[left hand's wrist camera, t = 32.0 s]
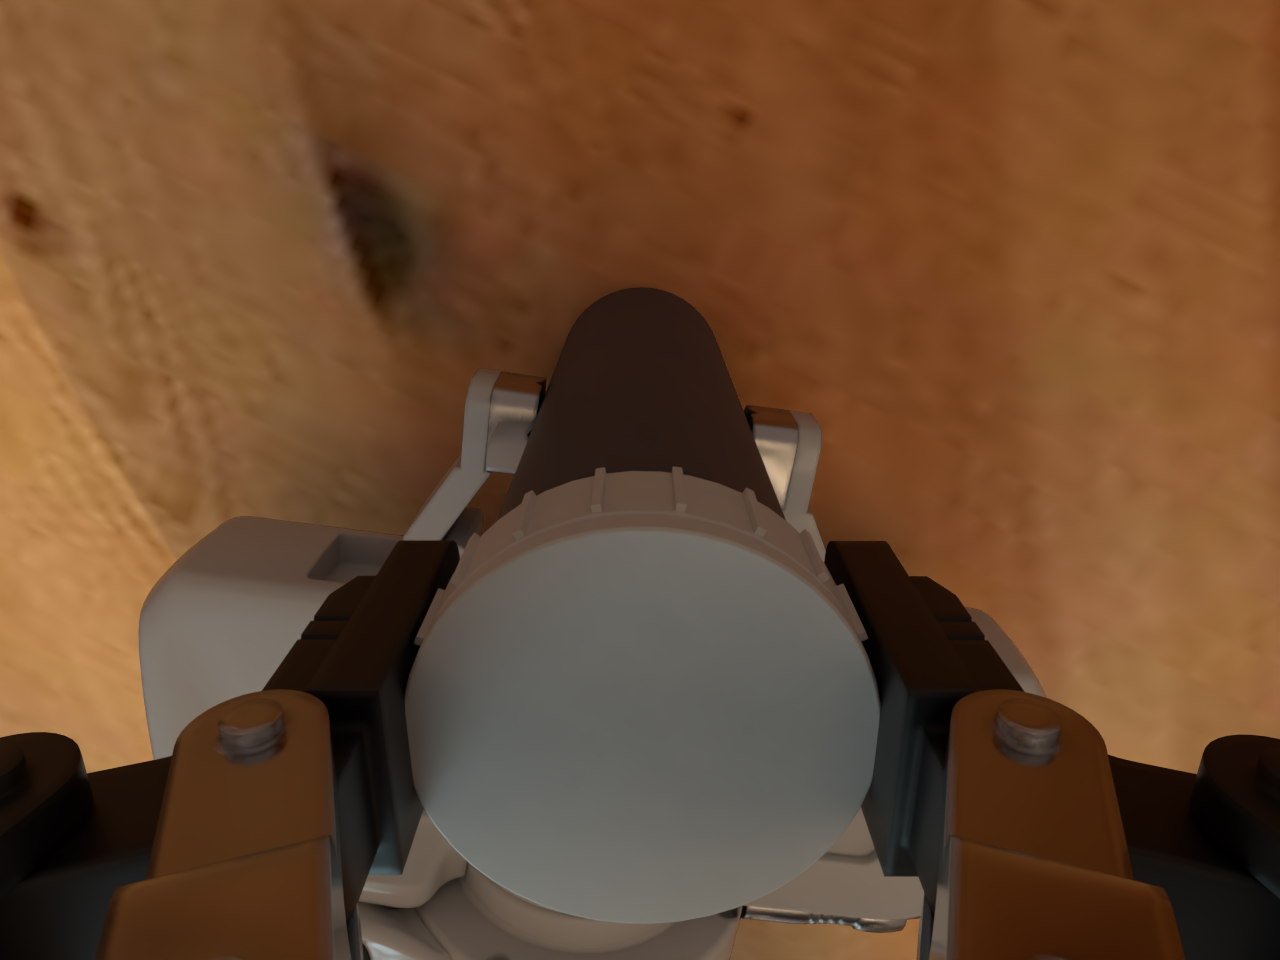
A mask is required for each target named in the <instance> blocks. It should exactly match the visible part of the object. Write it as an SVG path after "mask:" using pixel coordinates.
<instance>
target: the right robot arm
mask: <svg viewBox="0 0 1280 960" xmlns="http://www.w3.org/2000/svg"><path fill="white" fill-rule="evenodd" d="M545 391H546V378H542V377H536V376H529V375H523V374H516V373H509V372H503V371H501V370H491V369H480V368H479V369H478V370H477V372H476V373H475V374H474V376H473V377H472V378H471V380H470V383H469V387H468V392H467V397H466V402H465V413H464V427H463V441H462V452H461V454H460V455H459V456H458V458H457V459H456V460H455V462H454V463H453V464H452V466H451V467H450V468H449V470H448V471H447V472H446V474H445V475H444V476H443V478H442V479H441V481H440V482H439V483H438V485H437V486H436V487H435V489H434V490H433V491H432V493H431V494H430V495H429V497H428V498H427V499H426V501H425V502H424V504H423V506H422V507H421V509H420V510H419V512H418V514H417V515H416V517H415V518H414V520H413V522H412V523H411V525H410V526H409V528H408V530H407V531H406V533H405V535H404V536H401V535H393V534H385V533H377V532H369V531H361V530H353V529H345V528H338V527H330V526H322V525H314V524H306V523H298V522H290V521H282V520H275V519H268V518H261V517H251V516H240V517H235V518H232V519H230V520H227V521H226V522H224V523H223V524H221V525H220V526H219V527H217V528H216V529H215V530H213V531H212V532H211V533H209V534H208V535H207V536H206V537H204V538H203V539H202V540H200V541H199V542H198V543H197V544H195V545H194V546H193V547H191V548H190V549H189V550H188V551H187V552H186V553H185V554H183V555H182V556H181V557H180V558H179V559H178V560H177V561H176V562H175V563H174V564H173V565H172V566H171V567H170V568H169V569H168V570H167V571H166V572H165V574H164V575H163V576H162V577H161V578H160V579H159V580H158V582H157V583H156V584H155V585H154V587H153V588H152V589H151V591H150V593H149V594H148V596H147V598H146V600H145V602H144V604H143V607H142V610H141V614H140V620H139V655H140V667H141V677H142V686H143V695H144V703H145V710H146V717H147V724H148V729H149V735H150V741H151V747H152V753H153V758H154V760H156V759H161V758H165V757H169V756H172V754H173V749H174V745H175V743H176V740H177V738H178V736H179V735H180V733H181V732H182V730H183V729H184V728H185V727H186V726H187V725H188V724H189V723H190V722H191V721H193V720H194V719H195V718H196V717H197V716H199V715H200V714H202V713H203V712H205V711H206V710H208V709H210V708H212V707H214V706H216V705H218V704H220V703H222V702H224V701H227V700H229V699H232V698H235V697H238V696H241V695H245V694H249V693H253V692H258V691H262V689H263V688H264V687H265V685H266V684H267V682H268V681H269V680H270V678H271V677H272V675H273V674H274V672H275V671H276V670H277V668H278V667H279V665H280V664H281V662H282V661H283V660H284V658H285V657H286V655H287V654H288V652H289V651H290V650H291V648H292V647H293V645H294V644H295V642H296V641H297V640H298V639H301V634H302V633H303V631H304V630H305V628H306V627H307V625H308V624H309V623H310V621H314V615H315V614H316V613H317V611H318V610H319V608H320V607H321V605H322V604H323V603H324V601H325V600H326V598H327V597H328V596H329V594H331V593H332V592H334V591H335V590H337V589H338V588H340V587H342V586H343V585H345V584H346V583H348V582H349V581H351V580H352V579H354V578H355V577H357V576H377V574H378V572H379V571H380V569H381V568H382V566H383V564H384V563H385V561H386V559H387V558H388V556H389V555H390V553H391V551H392V550H393V548H394V547H395V545H396V543H397V542H398V541H400V540H454V541H455V542H456V543H457V546H458V550H459V555H460V559H461V556H462V554H463V552H464V550H465V547H466V545H467V543H468V540H469V538H470V537H471V536H472V535H473V534H474V533H476V534H477V535H479V536H480V537H481V536H482V525H483V513H482V512H481V510H480V509H476V508H469V507H466V506H467V505H468V503H469V502H470V501H471V499H472V498H473V497H474V495H475V494H476V493H477V491H478V490H479V489H480V487H481V486H482V485H483V483H484V482H485V481H486V479H487V478H488V477H489V475H490V474H491V472H502V473H511V474H515V472H516V470H517V467H518V465H519V462H520V459H521V457H522V454H523V452H524V449H525V446H526V444H527V441H528V438H529V436H530V433H531V431H532V428H533V425H534V423H535V420H536V418H537V415H538V412H539V410H540V407H541V405H542V402H543V399H544V397H545ZM744 414H745V416H746V419H747V421H748V424H749V426H750V429H751V432H752V434H753V437H754V439H755V442H756V444H757V447H758V450H759V452H760V455H761V457H762V460H763V462H764V465H765V468H766V470H767V473H768V475H769V478H770V480H771V483H772V486H773V488H774V491H775V493H776V496H777V498H778V501H779V504H780V506H781V509H782V511H783V514H784V516H785V519H786V521H787V522H788V523H789V524H791V525H792V526H793V527H794V528H795V529H796V530H797V531H798V532H799V533H800V532H802V531H803V530H804V529H806V530H807V531H808V532H809V533H810V534H811V536H812V539H813V541H814V543H815V545H816V548H817V550H818V552H819V554H820V557H821V559H822V561H823V562H824V560H825V553H826V550H825V547H824V545H823V542H822V539H821V536H820V533H819V531H818V528H817V525H816V522H815V519H814V517H813V514H812V512H811V510H810V508H809V501H810V497H811V492H812V488H813V483H814V479H815V474H816V470H817V465H818V461H819V456H820V452H821V443H822V431H821V427H820V425H819V424H818V422H817V421H816V419H815V418H814V416H813V415H812V413H805V412H797V411H790V410H783V409H775V408H767V407H759V406H751V405H747V406H746V408H745V409H744ZM965 609H966V610H967V611H968V613H969V614H970V616H971V617H972V622H975V623H976V624H977V625H978V627H979V628H980V630H981V631H982V633H983V634H984V635H985V640H988V641H989V642H990V644H991V645H992V647H993V648H994V649H995V651H996V652H997V654H998V655H999V656H1000V658H1001V659H1002V661H1003V662H1004V663H1005V665H1006V666H1007V668H1008V669H1009V670H1010V672H1011V673H1012V675H1013V676H1014V677H1015V679H1016V680H1017V682H1018V683H1019V684H1020V686H1021V687H1022V689H1023V690H1024V691H1025V692H1027V693H1031V694H1035V695H1039V696H1042V697H1045V698H1047V697H1046V694H1045V692H1044V690H1043V688H1042V686H1041V684H1040V682H1039V680H1038V678H1037V677H1036V675H1035V673H1034V672H1033V670H1032V669H1031V667H1030V665H1029V664H1028V662H1027V661H1026V659H1025V658H1024V656H1023V655H1022V654H1021V652H1020V651H1019V649H1018V648H1017V647H1016V646H1015V644H1014V643H1013V642H1012V641H1011V640H1010V638H1009V637H1008V636H1007V635H1006V634H1005V632H1004V631H1003V630H1002V629H1001V627H1000V626H999V625H998V624H997V623H996V622H995V621H994V620H993V619H992V618H991V617H990V616H989V615H988V614H986V613H985V612H983V611H981V610H978V609H973V608H969V607H965ZM923 897H924V890H923V888H922V885H921V882H920V880H919V877H884V874H883V871H882V868H881V865H880V862H879V859H878V857H877V854H876V851H875V848H874V845H873V842H872V839H871V836H870V833H869V830H868V827H867V824H866V821H865V818H864V815H863V812H862V809H861V807H860V809H859V811H858V812H857V814H856V815H855V817H854V818H853V820H852V821H851V823H850V824H849V826H848V827H847V829H846V830H845V832H844V833H843V834H842V835H841V836H840V838H839V839H838V840H837V841H836V842H835V843H834V844H833V846H832V847H831V848H830V849H829V850H828V851H827V852H826V853H825V854H824V855H823V856H822V857H821V858H819V859H818V860H817V861H816V862H815V863H814V864H813V865H811V866H810V867H809V868H808V869H807V870H805V871H804V872H803V873H801V874H800V875H798V876H797V877H795V878H794V879H793V880H791V881H790V882H788V883H787V884H785V885H784V886H782V887H780V888H778V889H776V890H774V891H772V892H771V893H769V894H767V895H765V896H763V897H761V898H759V899H757V900H754V901H752V902H749V903H747V904H744V905H742V906H739V907H737V908H734V909H731V910H727V911H724V912H721V913H717V914H714V915H710V916H706V917H701V918H695V919H690V920H684V921H677V922H666V923H654V924H642V923H617V922H608V921H599V920H593V919H588V918H583V917H579V916H574V915H569V914H566V913H563V912H560V911H557V910H553V909H550V908H547V907H544V906H541V905H539V904H537V903H534V902H532V901H530V900H528V899H525V898H523V897H521V896H519V895H516V894H515V893H513V892H511V891H509V890H508V889H506V888H504V887H502V886H501V885H499V884H497V883H496V882H494V881H492V880H491V879H489V878H488V877H487V876H485V875H484V874H483V873H481V872H480V871H479V870H477V869H476V868H475V867H473V866H472V865H471V864H470V863H469V862H468V861H466V860H465V859H464V858H463V857H462V856H461V855H460V854H459V853H458V852H457V851H456V850H455V849H454V848H453V847H452V846H451V845H450V844H449V843H448V841H447V840H446V839H445V838H444V836H443V835H442V834H441V833H440V831H439V830H438V829H437V828H436V827H435V825H434V824H433V822H432V820H431V819H430V817H429V815H428V814H427V812H426V810H425V809H423V812H422V815H421V818H420V821H419V824H418V827H417V830H416V833H415V836H414V840H413V843H412V846H411V849H410V852H409V855H408V858H407V861H406V864H405V867H404V870H403V873H402V875H368V877H367V880H366V882H365V885H364V888H363V890H362V893H361V896H360V898H359V901H358V903H357V904H358V910H359V917H360V923H361V935H362V948H363V960H730V957H731V953H732V949H733V945H734V940H735V936H736V932H737V928H738V924H739V920H740V919H741V918H742V919H748V918H749V919H751V920H761V921H770V922H780V923H789V924H807V923H808V924H817V923H819V924H827V923H828V924H838V925H848V926H852V927H853V928H854V929H857V930H860V931H865V932H875V933H888V932H896V931H901V930H903V928H904V927H905V924H906V920H907V919H918V918H920V917H921V910H922V904H923Z"/></svg>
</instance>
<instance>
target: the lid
mask: <svg viewBox="0 0 1280 960" xmlns="http://www.w3.org/2000/svg"><path fill="white" fill-rule="evenodd" d="M867 639H868V636H867V634H866V631H865V629H864V627H863V625H862V623H861V621H860V618H859V616H858V614H857V612H856V610H855V608H854V605H853V603H852V601H851V599H850V597H849V595H848V593H847V590H846V588H845V586H844V584H841V585H838V586H836V584H835V582H834V580H833V578H832V576H831V575H830V573H829V571H828V569H827V567H826V565H825V564H824V562H823V561H822V559H821V557H820V554H819V552H818V550H817V548H816V545H815V543H814V541H813V539H812V536H811V534H810V533H809V532H808V531H807V530H806V529H804V530H803V531H802V532H800V533H799V532H798V531H797V530H796V529H795V528H794V527H793V526H792V525H791V524H789V523H788V522H787V521H785V520H784V519H783V518H782V517H780V516H779V515H778V514H776V513H775V512H774V511H772V510H771V509H770V508H768V507H766V506H765V505H763V504H761V503H759V502H758V501H757V499H756V496H755V493H754V491H752V490H750V489H748V488H745V490H744V492H743V493H741V492H738V491H736V490H734V489H731V488H729V487H726V486H724V485H721V484H719V483H715V482H712V481H708V480H704V479H701V478H697V477H693V476H689V475H683V470H682V468H681V467H674V466H673V468H672V473H668V472H659V471H627V472H617V473H608V474H606V470H605V467H603V468H597V469H596V470H595V476H592V477H587V478H583V479H579V480H574V481H571V482H568V483H566V484H563V485H560V486H558V487H555V488H552V489H550V490H547V491H545V492H543V493H541V494H539V495H537V496H536V495H535V493H534V492H533V490H531V491H530V492H528V493H526V494H525V495H524V498H523V501H522V504H520V505H519V506H517V507H516V508H514V509H513V510H512V511H510V512H509V513H507V514H506V515H505V516H503V517H502V518H500V519H499V520H498V521H497V522H496V523H494V524H493V525H492V526H491V527H490V528H489V529H488V530H487V531H486V532H485V533H484V534H483V535H482V536H481V537H480V536H479V535H477V534H476V533H474V534H473V535H472V536H471V537H470V538H469V540H468V543H467V545H466V547H465V550H464V552H463V554H462V556H461V559H460V561H459V563H458V566H457V568H456V570H455V572H454V574H453V575H452V577H451V579H450V580H449V583H448V585H447V587H446V590H443V589H440V588H438V590H437V592H436V594H435V597H434V599H433V601H432V603H431V605H430V607H429V610H428V612H427V614H426V616H425V618H424V621H423V623H422V625H421V627H420V629H419V632H418V634H417V636H416V638H415V641H414V644H416V645H419V646H420V649H419V651H418V654H417V656H416V659H415V661H414V664H413V666H412V669H411V671H410V674H409V677H408V682H407V686H406V691H405V695H404V705H405V715H406V724H407V732H408V741H409V749H410V758H411V766H412V775H413V782H414V788H415V790H416V792H417V795H418V797H419V799H420V802H421V804H422V805H423V807H424V809H425V810H426V812H427V814H428V815H429V817H430V819H431V820H432V822H433V824H434V825H435V827H436V828H437V829H438V830H439V831H440V833H441V834H442V835H443V836H444V838H445V839H446V840H447V841H448V843H449V844H450V845H451V846H452V847H453V848H454V849H455V850H456V851H457V852H458V853H459V854H460V855H461V856H462V857H463V858H464V859H465V860H466V861H468V862H469V863H470V864H471V865H472V866H473V867H475V868H476V869H477V870H479V871H480V872H481V873H483V874H484V875H485V876H487V877H488V878H489V879H491V880H492V881H494V882H496V883H497V884H499V885H501V886H502V887H504V888H506V889H508V890H509V891H511V892H513V893H515V894H516V895H519V896H521V897H523V898H525V899H528V900H530V901H532V902H534V903H537V904H539V905H541V906H544V907H547V908H550V909H553V910H557V911H560V912H563V913H566V914H569V915H574V916H579V917H583V918H588V919H593V920H599V921H608V922H617V923H642V924H654V923H666V922H677V921H684V920H690V919H695V918H701V917H706V916H710V915H714V914H717V913H721V912H724V911H727V910H731V909H734V908H737V907H739V906H742V905H744V904H747V903H749V902H752V901H754V900H757V899H759V898H761V897H763V896H765V895H767V894H769V893H771V892H772V891H774V890H776V889H778V888H780V887H782V886H784V885H785V884H787V883H788V882H790V881H791V880H793V879H794V878H795V877H797V876H798V875H800V874H801V873H803V872H804V871H805V870H807V869H808V868H809V867H810V866H811V865H813V864H814V863H815V862H816V861H817V860H818V859H819V858H821V857H822V856H823V855H824V854H825V853H826V852H827V851H828V850H829V849H830V848H831V847H832V846H833V844H834V843H835V842H836V841H837V840H838V839H839V838H840V836H841V835H842V834H843V833H844V832H845V830H846V829H847V827H848V826H849V824H850V823H851V821H852V820H853V818H854V817H855V815H856V814H857V812H858V811H859V809H860V807H861V805H862V803H863V801H864V799H865V797H866V794H867V792H868V790H869V788H870V786H871V783H872V776H873V769H874V762H875V753H876V745H877V737H878V729H879V719H880V709H881V705H880V696H879V691H878V685H877V681H876V678H875V675H874V672H873V669H872V666H871V663H870V661H869V658H868V655H867V653H866V651H865V648H864V646H863V644H862V642H861V641H864V640H867Z"/></svg>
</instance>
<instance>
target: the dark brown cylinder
mask: <svg viewBox="0 0 1280 960" xmlns="http://www.w3.org/2000/svg"><path fill="white" fill-rule="evenodd" d="M673 466H674V467H681V468H682V470H683V475H689V476H693V477H697V478H701V479H704V480H708V481H712V482H715V483H719V484H721V485H724V486H726V487H729V488H731V489H734V490H736V491H738V492H741V493H743V492H744V490H745V488H748V489H750V490H752V491H754V493H755V496H756V499H757V501H758V502H759V503H761V504H763V505H765V506H766V507H768V508H770V509H771V510H772V511H774V512H775V513H776V514H778V515H779V516H780V517H782V518H783V519H784V520H785V521H786V519H785V516H784V514H783V511H782V509H781V506H780V504H779V501H778V498H777V496H776V493H775V491H774V488H773V486H772V483H771V480H770V478H769V475H768V473H767V470H766V468H765V465H764V462H763V460H762V457H761V455H760V452H759V450H758V447H757V444H756V442H755V439H754V437H753V434H752V432H751V429H750V426H749V424H748V421H747V419H746V416H745V414H744V411H743V408H742V406H741V403H740V401H739V398H738V396H737V393H736V390H735V388H734V385H733V383H732V380H731V378H730V375H729V372H728V370H727V367H726V365H725V362H724V360H723V357H722V354H721V352H720V349H719V347H718V344H717V342H716V339H715V337H714V335H713V332H712V330H711V328H710V327H709V325H708V323H707V322H706V320H705V319H704V318H703V317H702V315H701V314H700V313H699V312H698V311H697V310H696V309H695V308H694V307H693V306H691V305H690V304H689V303H687V302H686V301H684V300H683V299H681V298H679V297H677V296H675V295H673V294H671V293H668V292H665V291H662V290H657V289H651V288H631V289H625V290H620V291H617V292H614V293H611V294H609V295H607V296H605V297H603V298H601V299H599V300H598V301H596V302H595V303H593V304H592V305H591V306H590V307H589V308H587V309H586V310H585V311H584V312H583V313H582V315H581V316H580V317H579V318H578V319H577V321H576V322H575V324H574V325H573V327H572V329H571V331H570V333H569V335H568V337H567V339H566V342H565V345H564V347H563V350H562V353H561V355H560V358H559V360H558V363H557V366H556V368H555V371H554V373H553V376H552V379H551V381H550V384H549V386H548V389H547V392H546V394H545V397H544V399H543V402H542V405H541V407H540V410H539V412H538V415H537V418H536V420H535V423H534V425H533V428H532V431H531V433H530V436H529V438H528V441H527V444H526V446H525V449H524V452H523V454H522V457H521V459H520V462H519V465H518V467H517V470H516V472H515V475H514V478H513V480H512V483H511V485H510V488H509V491H508V493H507V496H506V498H505V501H504V504H503V506H502V509H501V511H500V514H499V517H498V519H497V521H498V520H499V519H500V518H502V517H503V516H505V515H506V514H507V513H509V512H510V511H512V510H513V509H514V508H516V507H517V506H519V505H520V504H522V501H523V498H524V495H525V494H526V493H528V492H530V491H531V490H533V492H534V493H535V495H536V496H537V495H539V494H541V493H543V492H545V491H547V490H550V489H552V488H555V487H558V486H560V485H563V484H566V483H568V482H571V481H574V480H579V479H583V478H587V477H592V476H595V470H596V469H597V468H603V467H605V470H606V474H608V473H617V472H627V471H659V472H668V473H672V468H673Z"/></svg>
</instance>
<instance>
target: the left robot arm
mask: <svg viewBox="0 0 1280 960" xmlns="http://www.w3.org/2000/svg"><path fill="white" fill-rule="evenodd" d="M459 561H460V555H459V550H458V546H457V543H456V542H455V541H454V540H400V541H398V542H397V543H396V545H395V547H394V548H393V550H392V551H391V553H390V555H389V556H388V558H387V559H386V561H385V563H384V564H383V566H382V568H381V569H380V571H379V572H378V574H377V576H357V577H355V578H354V579H352V580H351V581H349V582H348V583H346V584H345V585H343V586H342V587H340V588H338V589H337V590H335V591H334V592H332V593H331V594H329V596H328V597H327V598H326V600H325V601H324V603H323V604H322V605H321V607H320V608H319V610H318V611H317V613H316V614H315V615H314V621H310V623H309V624H308V625H307V627H306V628H305V630H304V631H303V633H302V634H301V639H298V640H297V641H296V642H295V644H294V645H293V647H292V648H291V650H290V651H289V652H288V654H287V655H286V657H285V658H284V660H283V661H282V662H281V664H280V665H279V667H278V668H277V670H276V671H275V672H274V674H273V675H272V677H271V678H270V680H269V681H268V682H267V684H266V685H265V687H264V688H263V689H262V691H258V692H253V693H249V694H245V695H241V696H238V697H235V698H232V699H229V700H227V701H224V702H222V703H220V704H218V705H216V706H214V707H212V708H210V709H208V710H206V711H205V712H203V713H202V714H200V715H199V716H197V717H196V718H195V719H194V720H193V721H191V722H190V723H189V724H188V725H187V726H186V727H185V728H184V729H183V730H182V732H181V733H180V735H179V736H178V738H177V740H176V743H175V745H174V749H173V754H172V756H169V757H165V758H161V759H156V760H152V761H147V762H142V763H137V764H132V765H127V766H122V767H117V768H112V769H107V770H102V771H98V772H93V773H88V774H87V773H86V769H85V766H84V762H83V759H82V755H81V751H80V749H79V747H78V745H77V744H76V743H75V742H74V741H73V740H72V739H70V738H68V737H66V736H64V735H60V734H56V733H47V732H32V733H23V734H16V735H11V736H6V737H1V738H0V960H363V948H362V935H361V923H360V917H359V910H358V904H357V903H358V901H359V898H360V896H361V893H362V890H363V888H364V885H365V882H366V880H367V877H368V875H402V873H403V870H404V867H405V864H406V861H407V858H408V855H409V852H410V849H411V846H412V843H413V840H414V836H415V833H416V830H417V827H418V824H419V821H420V818H421V815H422V812H423V809H424V807H423V805H422V804H421V802H420V799H419V797H418V795H417V792H416V790H415V788H414V782H413V775H412V766H411V758H410V749H409V741H408V732H407V724H406V715H405V705H404V695H405V691H406V686H407V682H408V677H409V674H410V671H411V669H412V666H413V664H414V661H415V659H416V656H417V654H418V651H419V649H420V646H419V645H416V644H414V641H415V638H416V636H417V634H418V632H419V629H420V627H421V625H422V623H423V621H424V618H425V616H426V614H427V612H428V610H429V607H430V605H431V603H432V601H433V599H434V597H435V594H436V592H437V590H438V588H440V589H443V590H446V587H447V585H448V583H449V580H450V579H451V577H452V575H453V574H454V572H455V570H456V568H457V566H458V563H459ZM824 564H825V565H826V567H827V569H828V571H829V573H830V575H831V576H832V578H833V580H834V582H835V584H836V586H838V585H841V584H844V586H845V588H846V590H847V593H848V595H849V597H850V599H851V601H852V603H853V605H854V608H855V610H856V612H857V614H858V616H859V618H860V621H861V623H862V625H863V627H864V629H865V631H866V634H867V636H868V639H867V640H864V641H861V642H862V644H863V646H864V648H865V651H866V653H867V655H868V658H869V661H870V663H871V666H872V669H873V672H874V675H875V678H876V681H877V685H878V691H879V696H880V705H881V709H880V719H879V729H878V737H877V745H876V753H875V762H874V769H873V776H872V783H871V786H870V788H869V790H868V792H867V794H866V797H865V799H864V801H863V803H862V805H861V809H862V812H863V815H864V818H865V821H866V824H867V827H868V830H869V833H870V836H871V839H872V842H873V845H874V848H875V851H876V854H877V857H878V859H879V862H880V865H881V868H882V871H883V874H884V877H919V880H920V882H921V885H922V888H923V890H924V897H923V904H922V910H921V917H920V923H919V935H918V947H917V960H1280V739H1276V738H1270V737H1265V736H1257V735H1231V736H1225V737H1221V738H1218V739H1216V740H1214V741H1212V742H1210V743H1209V744H1208V745H1207V746H1206V748H1205V750H1204V752H1203V755H1202V759H1201V763H1200V766H1199V770H1198V773H1197V774H1192V773H1187V772H1182V771H1178V770H1173V769H1168V768H1163V767H1158V766H1153V765H1148V764H1143V763H1138V762H1133V761H1129V760H1125V759H1121V758H1117V757H1114V756H1111V755H1108V754H1107V749H1106V745H1105V743H1104V740H1103V738H1102V736H1101V735H1100V733H1099V732H1098V730H1097V729H1096V728H1095V727H1094V726H1093V725H1092V724H1091V723H1090V722H1089V721H1087V720H1086V719H1085V718H1084V717H1083V716H1081V715H1080V714H1078V713H1077V712H1075V711H1074V710H1072V709H1070V708H1068V707H1066V706H1064V705H1062V704H1060V703H1058V702H1056V701H1053V700H1051V699H1048V698H1045V697H1042V696H1039V695H1035V694H1031V693H1027V692H1025V691H1024V690H1023V689H1022V687H1021V686H1020V684H1019V683H1018V682H1017V680H1016V679H1015V677H1014V676H1013V675H1012V673H1011V672H1010V670H1009V669H1008V668H1007V666H1006V665H1005V663H1004V662H1003V661H1002V659H1001V658H1000V656H999V655H998V654H997V652H996V651H995V649H994V648H993V647H992V645H991V644H990V642H989V641H988V640H985V635H984V634H983V633H982V631H981V630H980V628H979V627H978V625H977V624H976V623H975V622H972V617H971V616H970V614H969V613H968V611H967V610H966V609H965V607H964V606H963V604H962V603H961V602H960V600H959V599H958V597H957V596H956V595H955V594H953V593H952V592H950V591H949V590H947V589H945V588H944V587H942V586H941V585H939V584H938V583H936V582H935V581H933V580H932V579H930V578H928V577H927V576H908V574H907V573H906V571H905V570H904V568H903V566H902V565H901V563H900V562H899V560H898V559H897V557H896V555H895V554H894V552H893V551H892V549H891V547H890V546H889V544H888V543H887V542H886V541H830V542H829V543H828V545H827V548H826V553H825V560H824Z"/></svg>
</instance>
